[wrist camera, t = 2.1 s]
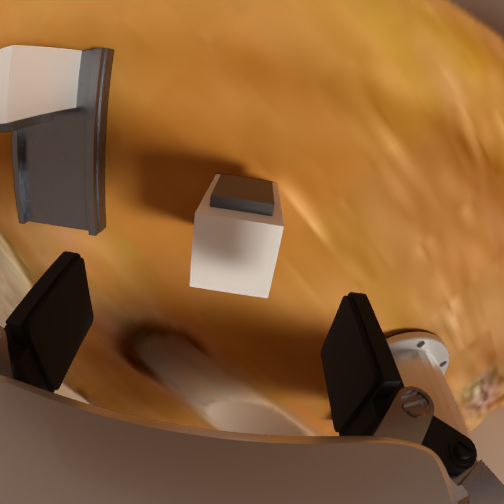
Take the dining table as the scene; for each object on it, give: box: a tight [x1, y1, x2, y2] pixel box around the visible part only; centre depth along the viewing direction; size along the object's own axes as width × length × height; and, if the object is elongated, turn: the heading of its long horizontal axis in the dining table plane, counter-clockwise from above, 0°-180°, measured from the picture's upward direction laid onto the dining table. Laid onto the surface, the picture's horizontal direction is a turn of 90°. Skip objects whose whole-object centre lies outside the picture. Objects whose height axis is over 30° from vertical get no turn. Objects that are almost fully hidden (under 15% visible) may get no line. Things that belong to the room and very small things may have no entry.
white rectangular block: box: [190, 174, 284, 298], centre depth 18 cm, size 5×4×7 cm
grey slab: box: [12, 48, 114, 236], centre depth 18 cm, size 13×8×2 cm, turn 171°
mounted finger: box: [0, 45, 82, 132], centre depth 13 cm, size 5×4×7 cm
